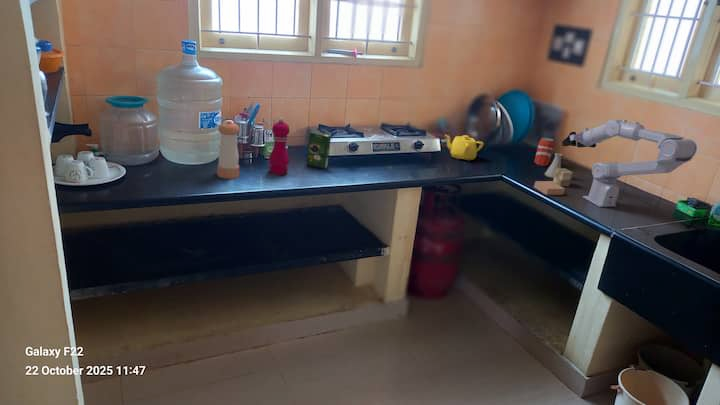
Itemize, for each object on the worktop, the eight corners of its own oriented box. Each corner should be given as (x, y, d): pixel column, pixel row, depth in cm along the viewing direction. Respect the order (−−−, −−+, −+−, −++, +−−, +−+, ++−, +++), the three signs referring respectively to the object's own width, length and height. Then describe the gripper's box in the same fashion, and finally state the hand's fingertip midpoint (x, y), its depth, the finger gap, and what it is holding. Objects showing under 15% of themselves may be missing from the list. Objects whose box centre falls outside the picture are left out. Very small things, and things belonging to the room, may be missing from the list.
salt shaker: (238, 171, 183) (239, 118, 176) (240, 178, 177) (241, 124, 170) (216, 171, 181) (217, 117, 173) (218, 178, 175) (218, 123, 167)
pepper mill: (264, 171, 186) (266, 117, 178) (276, 167, 192) (279, 114, 184) (280, 176, 183) (283, 121, 175) (292, 172, 189) (296, 118, 181)
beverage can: (546, 163, 238) (552, 138, 234) (549, 167, 232) (556, 142, 228) (532, 161, 239) (539, 136, 234) (535, 165, 233) (542, 140, 228)
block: (568, 186, 211) (572, 172, 209) (559, 186, 209) (563, 172, 207) (561, 182, 215) (565, 168, 213) (552, 182, 213) (556, 168, 211)
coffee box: (328, 167, 198) (331, 134, 193) (325, 169, 196) (328, 136, 190) (309, 163, 200) (312, 130, 195) (306, 165, 198) (308, 132, 193)
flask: (562, 180, 217) (569, 157, 213) (545, 177, 218) (551, 155, 214) (560, 175, 224) (566, 153, 220) (543, 172, 225) (549, 150, 221)
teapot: (462, 164, 222) (466, 141, 218) (440, 155, 231) (444, 132, 227) (481, 160, 231) (486, 138, 227) (459, 151, 239) (464, 130, 235)
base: (563, 194, 200) (565, 188, 199) (546, 195, 198) (548, 188, 197) (550, 186, 207) (552, 181, 206) (533, 187, 204) (535, 181, 203)
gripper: (609, 126, 200) (582, 136, 212) (581, 123, 194) (555, 133, 207) (612, 143, 199) (584, 152, 211) (583, 141, 193) (557, 150, 206)
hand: (570, 144), depth 209 cm, fingers open, 7 cm apart
